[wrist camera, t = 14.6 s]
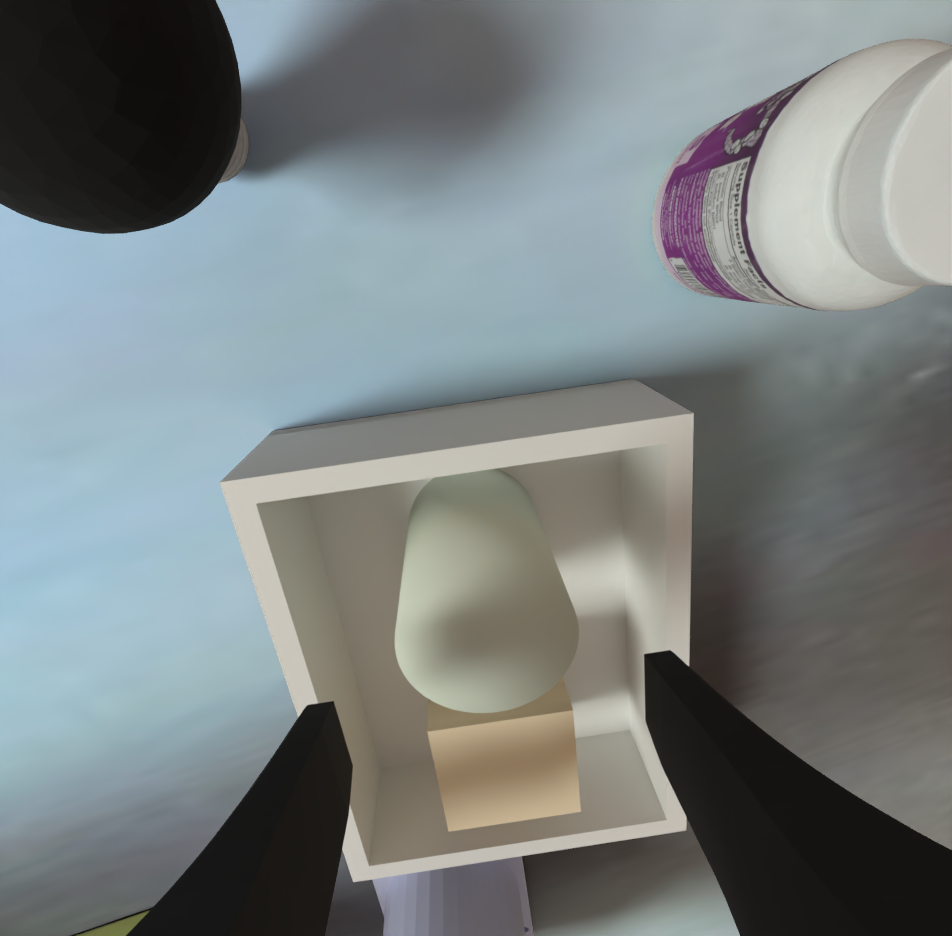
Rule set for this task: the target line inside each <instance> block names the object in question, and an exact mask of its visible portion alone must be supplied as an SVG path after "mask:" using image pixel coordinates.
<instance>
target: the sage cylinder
mask: <svg viewBox="0 0 952 936" xmlns="http://www.w3.org/2000/svg"><path fill="white" fill-rule="evenodd" d="M578 640H579V625H578V619H577V616H576V613H575V610H574V607H573V604H572V602H571V599H570V597H569V594H568V592H567V589H566V587H565V584H564V581H563V579H562V576H561V574H560V571H559V569H558V566H557V564H556V561H555V559H554V556H553V553H552V551H551V548H550V546H549V543H548V541H547V538H546V536H545V533H544V531H543V528H542V525H541V523H540V520H539V518H538V515H537V513H536V510H535V508H534V505H533V503H532V500H531V498H530V496H529V494H528V493H527V491H526V490H525V488H524V487H523V486H522V485H521V484H520V483H519V482H518V481H517V480H516V479H515V478H513V477H512V476H510V475H509V474H507V473H505V472H503V471H501V470H499V469H489V470H482V471H475V472H469V473H462V474H455V475H448V476H441V477H434V478H433V479H432V480H430V481H429V482H428V483H427V484H426V485H425V486H424V487H423V488H422V489H421V490H420V492H419V493H418V495H417V496H416V498H415V500H414V502H413V505H412V508H411V511H410V516H409V523H408V532H407V540H406V548H405V556H404V564H403V572H402V580H401V589H400V597H399V605H398V613H397V621H396V629H395V652H396V657H397V660H398V664H399V666H400V668H401V670H402V672H403V674H404V676H405V677H406V678H407V680H408V681H409V683H410V684H411V685H412V686H413V687H414V688H415V689H416V690H417V691H418V692H420V693H421V694H422V695H423V696H425V697H426V698H428V699H430V700H431V701H433V702H435V703H437V704H439V705H441V706H444V707H447V708H450V709H453V710H457V711H462V712H469V713H494V712H501V711H506V710H510V709H514V708H517V707H520V706H522V705H525V704H527V703H529V702H531V701H533V700H535V699H537V698H539V697H540V696H542V695H543V694H545V693H546V692H547V691H549V690H550V689H551V688H552V687H553V686H554V685H556V684H557V683H558V681H559V680H560V679H561V678H562V677H563V676H564V674H565V673H566V671H567V670H568V668H569V667H570V665H571V663H572V661H573V659H574V657H575V653H576V650H577V647H578Z"/></svg>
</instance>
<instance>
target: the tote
mask: <svg viewBox="0 0 952 936" xmlns="http://www.w3.org/2000/svg"><path fill="white" fill-rule="evenodd" d="M693 429H694V413H693V412H691V411H689V410H687V409H686V408H684V407H682V406H681V405H679V404H677V403H675V402H674V401H672V400H670V399H668V398H667V397H665V396H663V395H661V394H660V393H658V392H656V391H654V390H653V389H651V388H649V387H648V386H646V385H644V384H642V383H641V382H639V381H637V380H635V379H628V380H621V381H614V382H607V383H601V384H594V385H587V386H580V387H573V388H566V389H559V390H552V391H545V392H538V393H532V394H525V395H518V396H511V397H504V398H497V399H490V400H483V401H476V402H470V403H463V404H456V405H449V406H442V407H435V408H428V409H421V410H414V411H407V412H401V413H394V414H387V415H380V416H373V417H366V418H359V419H352V420H345V421H338V422H332V423H325V424H318V425H311V426H304V427H297V428H290V429H283V430H276V431H272V432H271V433H270V434H269V435H268V436H267V437H266V438H265V439H264V440H263V441H262V442H261V443H260V444H258V445H257V446H256V447H255V448H254V449H253V450H252V451H251V452H250V453H249V454H248V455H247V456H246V457H245V458H244V459H243V460H242V461H241V462H240V463H239V464H238V465H237V466H236V467H235V468H234V469H233V470H232V471H231V472H230V473H229V474H228V475H227V476H226V477H225V478H224V479H223V480H222V481H221V482H220V485H221V488H222V491H223V494H224V497H225V500H226V503H227V506H228V509H229V511H230V514H231V517H232V520H233V523H234V526H235V529H236V532H237V535H238V538H239V541H240V544H241V547H242V550H243V553H244V556H245V559H246V562H247V565H248V568H249V571H250V574H251V577H252V580H253V583H254V586H255V589H256V592H257V595H258V598H259V601H260V604H261V607H262V610H263V613H264V616H265V619H266V622H267V625H268V628H269V631H270V634H271V637H272V640H273V643H274V646H275V649H276V652H277V655H278V658H279V661H280V664H281V667H282V670H283V673H284V676H285V679H286V682H287V685H288V688H289V691H290V694H291V697H292V700H293V703H294V706H295V709H296V712H297V715H298V717H299V716H300V714H301V713H302V711H303V710H304V709H305V707H306V706H307V705H311V704H317V703H324V702H330V701H334V704H335V707H336V710H337V714H338V717H339V721H340V724H341V727H342V731H343V734H344V737H345V741H346V744H347V747H348V751H349V754H350V758H351V761H352V764H353V772H352V785H351V796H350V806H349V816H348V821H347V826H346V831H345V836H344V842H343V847H342V850H343V853H344V856H345V859H346V862H347V865H348V868H349V871H350V874H351V877H352V880H353V882H358V881H365V880H371V879H378V878H384V877H391V876H397V875H403V874H410V873H416V872H423V871H429V870H436V869H442V868H448V867H455V866H461V865H468V864H474V863H481V862H487V861H493V860H500V859H506V858H513V857H519V856H526V855H532V854H538V853H545V852H551V851H558V850H564V849H571V848H577V847H583V846H590V845H596V844H603V843H609V842H616V841H622V840H628V839H635V838H641V837H648V836H654V835H661V834H667V833H673V832H680V831H686V819H687V817H686V815H685V813H684V811H683V809H682V807H681V805H680V803H679V801H678V799H677V797H676V795H675V793H674V790H673V788H672V786H671V784H670V782H669V780H668V778H667V776H666V774H665V772H664V770H663V768H662V765H661V763H660V760H659V757H658V755H657V752H656V749H655V747H654V744H653V741H652V738H651V735H650V733H649V730H648V727H647V724H646V721H645V677H644V654H648V653H654V652H661V651H667V650H671V651H672V652H673V653H675V654H676V655H677V656H678V657H679V658H680V659H681V660H682V661H683V662H684V663H686V664H687V665H688V666H689V652H690V596H691V540H692V484H693ZM489 469H499V470H501V471H503V472H505V473H507V474H509V475H510V476H512V477H513V478H515V479H516V480H517V481H518V482H519V483H520V484H521V485H522V486H523V487H524V488H525V490H526V491H527V493H528V494H529V496H530V498H531V500H532V503H533V505H534V508H535V510H536V513H537V515H538V518H539V520H540V523H541V525H542V528H543V531H544V533H545V536H546V538H547V541H548V543H549V546H550V548H551V551H552V553H553V556H554V559H555V561H556V564H557V566H558V569H559V571H560V574H561V576H562V579H563V581H564V584H565V587H566V589H567V592H568V594H569V597H570V599H571V602H572V604H573V607H574V610H575V613H576V616H577V619H578V625H579V640H578V647H577V650H576V653H575V657H574V659H573V661H572V663H571V665H570V667H569V668H568V670H567V671H566V673H565V674H564V676H563V678H564V682H565V685H566V688H567V692H568V695H569V698H570V702H571V705H572V708H573V716H574V728H575V741H576V754H577V767H578V780H579V793H580V806H581V812H577V813H570V814H563V815H557V816H550V817H543V818H537V819H530V820H523V821H517V822H510V823H504V824H497V825H490V826H484V827H477V828H470V829H464V830H457V831H450V832H448V827H447V822H446V817H445V813H444V808H443V803H442V799H441V794H440V789H439V784H438V780H437V775H436V770H435V766H434V761H433V756H432V751H431V747H430V742H429V737H428V733H427V726H428V698H426V697H425V696H423V695H422V694H421V693H420V692H418V691H417V690H416V689H415V688H414V687H413V686H412V685H411V684H410V683H409V681H408V680H407V678H406V677H405V676H404V674H403V672H402V670H401V668H400V666H399V664H398V660H397V657H396V652H395V629H396V621H397V613H398V605H399V597H400V589H401V580H402V572H403V564H404V556H405V548H406V540H407V532H408V523H409V516H410V511H411V508H412V505H413V502H414V500H415V498H416V496H417V495H418V493H419V492H420V490H421V489H422V488H423V487H424V486H425V485H426V484H427V483H428V482H429V481H430V480H432V479H433V478H434V477H441V476H448V475H455V474H462V473H469V472H475V471H482V470H489Z"/></svg>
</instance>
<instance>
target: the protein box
mask: <svg viewBox="0 0 952 936" xmlns="http://www.w3.org/2000/svg"><path fill="white" fill-rule="evenodd" d="M149 911H150V910H149ZM149 911H146V912H143V913H140V914H137V915H134V916H131V917H129V918H126V919H123V920H120V921H117V922H114V923H111V924H108V925H105V926H102V927H99V928H96V929H93V930H90V931H87V932H84V933H81V934H78V935H76V936H126V935H127V934H128V933H129V932H130V931H131V930H132V929H133V928H134V927H135V926H136V925H137V924H138V922H139V921H140V920H141V919H142V918H143V917H144V916H145V915H146V914H147V913H148V912H149Z"/></svg>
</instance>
